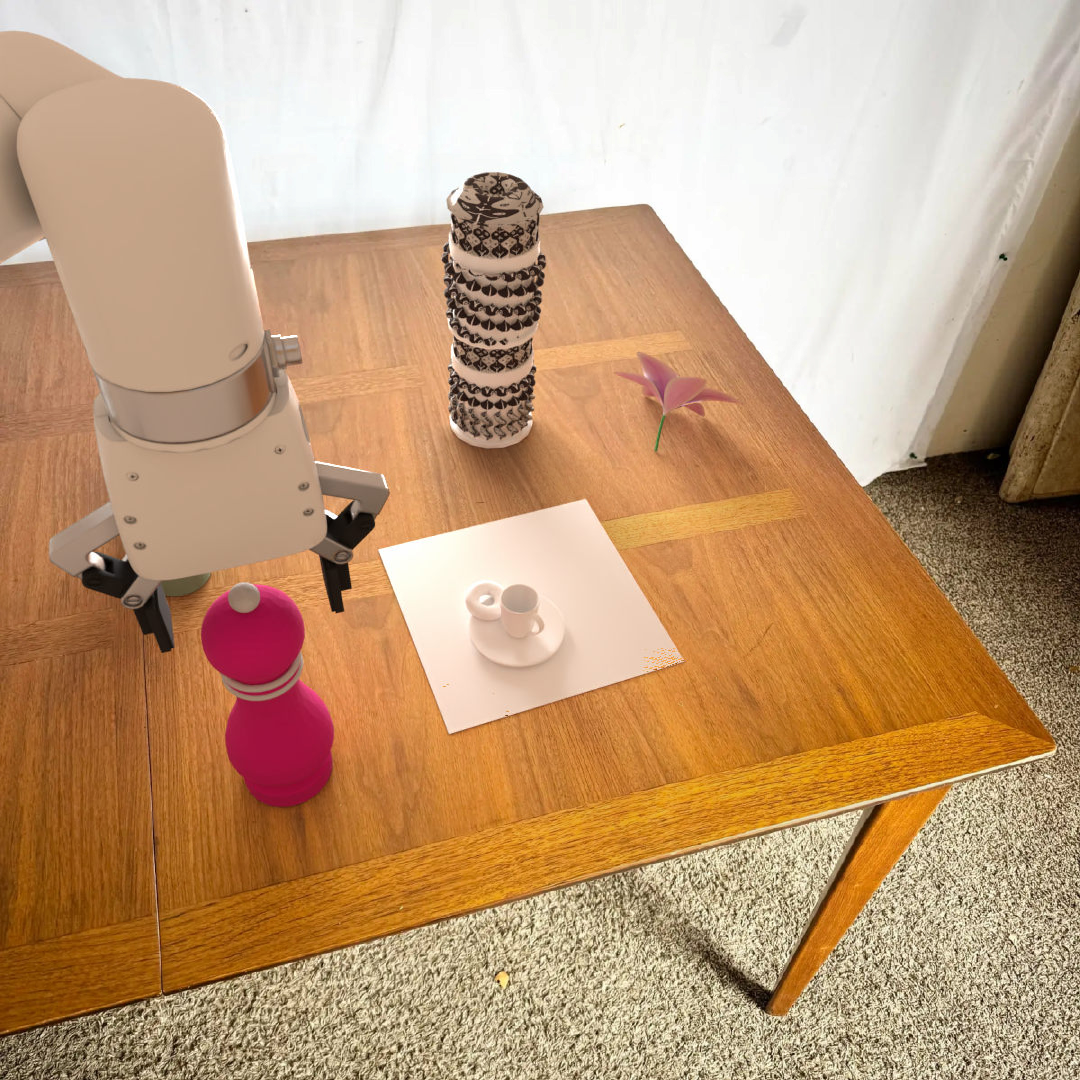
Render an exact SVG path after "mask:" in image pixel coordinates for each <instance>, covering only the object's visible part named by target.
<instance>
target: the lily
mask: <svg viewBox="0 0 1080 1080" xmlns="http://www.w3.org/2000/svg"><path fill="white" fill-rule="evenodd" d="M636 356H637V359H638V361H639V363H640V367H641V370H642V371H641V372H642V374H643V375H642V374H640V373H635V372H627V371H613V372H612V374H613V375H615V376H618V377H620V378H623V379H626V380H628V381H631V382H633V383H636V384H638V385H639V386H640V385H641V386H642V387H641V394H642V395H643V397H647V398H648V397H650V398H656V400H657V401H658V403H659V404H660V406H661V408H662V409H663V412H662V415H661V418H660V419H661V420H660V422H659V427H658V429H657V430H658V431H657V436H656V441H655V446H654V452H658V449H659V444H660V440H661V434H662V430H663V426H664V424H665V423H664V422H665V419H666V417H667V415H668V413H670V412H672V411H675V410H676V409H679V408H682V407H685V408H687V409H689V410H690V411H691V412H694V413H695V414H697V415H698V416H700V417H702V418H704V417H706V412H705V411H706V410H705V408H704V406H703V404H702V403H701V402H711V401H712V402H722V403H730V404H735V405H744V402H742V400H740V399H737V398H736V397H734V396H732V395H730V394H728V393H726V392H723V390H719V389H715V388H711V387H706V386H707V383H708V381H707V380H706V379H705V378H702V377H700V376H699V377H698V376H686V375H685V376H684V375H683V376H680V374H677V372H676V371H675V369H673V368H672V367H671V366H670V365H668V364H667V363H665V362H664V361H662V360H660V359H658V358H657V357H654V356H652V355H650V354H647V353H644V352H642V351H637V352H636Z"/></svg>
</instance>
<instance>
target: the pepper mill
mask: <svg viewBox="0 0 1080 1080" xmlns="http://www.w3.org/2000/svg"><path fill="white" fill-rule="evenodd" d="M201 624H202V625H201V628H200V641H201V646H202V650H203V652H204V656H205V658H206V660H207V661H208V663H209V664H210V665H211V666H212V668H213V669H214V670H216V671H217V672H218V673H219V674H220V678H221V681H222V684H223V685H224V687H225V689H226V690H227V691H228V692H229V693H230V694H232V695H233V696H234V697H235V698H236V699H235V702H234V704H233V706H232V708H231V710H230V712H229V715H228V718H227V722H226V728H225V732H224V738H225V739H224V740H225V749H226V753H227V756H228V760H229V762H230V764H231V765H232V768H233V769H234V770H235V771H236V772H237V773H238V775H240V776H241V777H242V778H243V781H244V784H245V787H246V789H247V790H248V792H249V794H250V795H251V796H252V797H253V798H255V800H257V801H258V802H260V803H263V804H264V805H267V806H270V807H275V808H289V807H293V806H297V805H300V804H304V803H306V802H308V801H309V800H310V799H312V798H314V797H315V796H317V795H318V794H319V793H320V792H321V791H322V790H323V788H324V787H325V786H326V785H327V784H328V781H329V779H330V777H331V775H332V771H333V766H334V765H333V764H334V763H333V762H334V760H333V753H332V748H333V745H334V740H335V727H334V721H333V720H332V717H331V716H332V715H331V714H330V711H329V707H327V705H326V703H325V702H324V701H323V700H322V698H321V697H320V695H318V693H317V692H316V691H315V690H313V689H312V688H311V687H310V686H308V685H307V684H306V683H304V682H303V681H302V680H301V679H300V677H301V675H302V672H303V670H304V669H303V668H304V657H303V654H302V648H303V646H304V642H305V638H306V632H305V631H306V628H305V621H304V618H303V615H302V612H301V611H300V609H299V607H298V605H297V604H296V602H295V601H294V600H293V598H292V597H290V596H289V595H288V594H287V593H285V592H284V591H282V590H280V589H279V588H276V587H274V586H270V585H266V584H257V583H256V584H253V583H251V582H245V581H244V582H242V581H241V582H238V583H236V584H234V585H233V586H232V587H231V588H230V589H229V590H227V591H225V592H224V593H222V594H221V595H220V596H218V597H217V598H216V599H215V600H214V601H213V602H212V604H211V605H210V606H209V607H208V608H207V610H206V613H205V615H204V616H203V619H202V622H201Z"/></svg>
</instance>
